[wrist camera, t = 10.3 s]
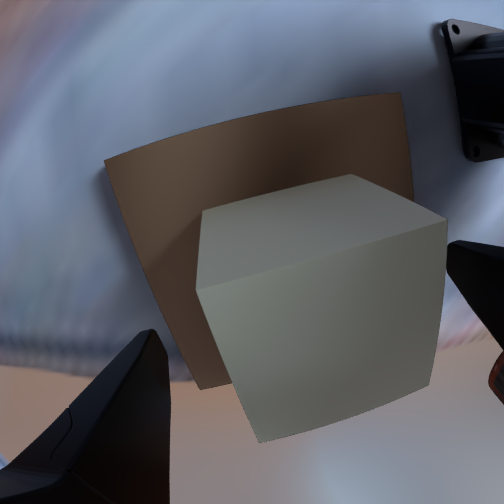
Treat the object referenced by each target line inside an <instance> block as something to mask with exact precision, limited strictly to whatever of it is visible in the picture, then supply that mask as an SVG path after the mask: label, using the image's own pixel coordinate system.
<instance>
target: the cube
mask: <svg viewBox="0 0 504 504" xmlns="http://www.w3.org/2000/svg"><path fill="white" fill-rule="evenodd" d="M447 229H448V220H447V219H445V218H444V217H442V216H440V215H438V214H436V213H434V212H432V211H430V210H428V209H426V208H424V207H422V206H420V205H418V204H416V203H414V202H412V201H410V200H408V199H406V198H404V197H402V196H400V195H398V194H396V193H393V192H391V191H389V190H387V189H385V188H383V187H380V186H378V185H376V184H374V183H372V182H369V181H367V180H365V179H362V178H360V177H358V176H356V175H353V174H348V175H344V176H339V177H335V178H330V179H326V180H321V181H317V182H313V183H308V184H304V185H300V186H296V187H292V188H288V189H283V190H279V191H275V192H271V193H267V194H263V195H259V196H256V197H252V198H248V199H244V200H240V201H236V202H233V203H229V204H225V205H221V206H218V207H214V208H210V209H207V210H203V211H202V220H201V231H200V242H199V254H198V266H197V279H196V292H197V295H198V298H199V300H200V303H201V306H202V308H203V311H204V314H205V316H206V319H207V321H208V324H209V327H210V329H211V332H212V334H213V337H214V339H215V342H216V344H217V347H218V349H219V352H220V354H221V357H222V359H223V362H224V364H225V366H226V369H227V371H228V374H229V376H230V378H231V381H232V383H233V386H234V388H235V390H236V393H237V395H238V397H239V399H240V402H241V404H242V406H243V409H244V411H245V413H246V415H247V418H248V420H249V422H250V424H251V426H252V429H253V431H254V433H255V435H256V437H257V440H258V442H259V443H262V442H267V441H271V440H275V439H279V438H283V437H287V436H291V435H295V434H298V433H302V432H306V431H309V430H313V429H316V428H319V427H323V426H326V425H329V424H332V423H335V422H338V421H341V420H344V419H347V418H350V417H353V416H356V415H359V414H361V413H364V412H367V411H369V410H372V409H375V408H377V407H380V406H382V405H385V404H387V403H390V402H392V401H395V400H397V399H399V398H402V397H404V396H406V395H408V394H411V393H412V392H415V391H417V390H419V389H422V388H424V387H426V386H428V385H429V381H430V377H431V372H432V368H433V363H434V357H435V352H436V346H437V340H438V334H439V328H440V321H441V313H442V305H443V296H444V286H445V273H446V258H447Z"/></svg>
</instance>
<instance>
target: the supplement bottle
mask: <svg viewBox="0 0 504 504" xmlns="http://www.w3.org/2000/svg"><path fill="white" fill-rule="evenodd" d="M488 383H489V387H490V388H491V390H492V391H493V392H494V394H495V395H496V396H497V397H498V398H499V400H500V401H501V402H502V403H503V404H504V351H503V352H502V353H501V354H500V356H499V357H498V359H497V360H496V362H495V364H494V366H493V368H492V370H491V373H490V375H489V381H488Z"/></svg>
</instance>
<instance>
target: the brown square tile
mask: <svg viewBox="0 0 504 504" xmlns="http://www.w3.org/2000/svg"><path fill="white" fill-rule="evenodd" d="M104 163H105V166H106V169H107V172H108V176H109V179H110V182H111V185H112V188H113V191H114V194H115V197H116V200H117V202H118V205H119V208H120V211H121V214H122V216H123V219H124V222H125V225H126V227H127V230H128V233H129V235H130V238H131V241H132V243H133V246H134V248H135V251H136V253H137V256H138V258H139V261H140V263H141V266H142V268H143V271H144V273H145V276H146V278H147V280H148V283H149V285H150V287H151V290H152V292H153V294H154V297H155V299H156V301H157V303H158V306H159V308H160V310H161V312H162V314H163V317H164V319H165V321H166V323H167V325H168V327H169V330H170V332H171V334H172V336H173V338H174V340H175V342H176V344H177V346H178V348H179V350H180V352H181V354H182V356H183V358H184V360H185V362H186V364H187V366H188V368H189V370H190V372H191V374H192V376H193V378H194V380H195V382H196V384H197V386H198V387H199V389H200V390H203V389H207V388H213V387H217V386H222V385H226V384H230V383H232V381H231V378H230V376H229V374H228V371H227V369H226V366H225V364H224V362H223V359H222V357H221V354H220V352H219V349H218V347H217V344H216V342H215V339H214V337H213V334H212V332H211V329H210V327H209V324H208V321H207V319H206V316H205V314H204V311H203V308H202V306H201V303H200V300H199V298H198V295H197V292H196V279H197V266H198V254H199V242H200V231H201V220H202V211H203V210H207V209H210V208H214V207H218V206H221V205H225V204H229V203H233V202H236V201H240V200H244V199H248V198H252V197H256V196H259V195H263V194H267V193H271V192H275V191H279V190H283V189H288V188H292V187H296V186H300V185H304V184H308V183H313V182H317V181H321V180H326V179H330V178H335V177H339V176H344V175H348V174H353V175H356V176H358V177H360V178H362V179H365V180H367V181H369V182H372V183H374V184H376V185H378V186H380V187H383V188H385V189H387V190H389V191H391V192H393V193H396V194H398V195H400V196H402V197H404V198H406V199H408V200H410V201H412V202H414V193H413V180H412V169H411V160H410V151H409V143H408V136H407V129H406V122H405V116H404V110H403V104H402V99H401V94H400V92H398V93H385V94H375V95H366V96H357V97H349V98H342V99H335V100H328V101H322V102H316V103H310V104H304V105H298V106H293V107H288V108H283V109H278V110H273V111H268V112H263V113H259V114H254V115H250V116H246V117H242V118H237V119H233V120H229V121H225V122H222V123H218V124H214V125H210V126H207V127H203V128H199V129H196V130H192V131H189V132H186V133H182V134H179V135H176V136H173V137H169V138H166V139H163V140H160V141H157V142H154V143H151V144H148V145H145V146H142V147H139V148H136V149H133V150H131V151H128V152H125V153H122V154H120V155H117V156H114V157H112V158H109V159H107V160H104Z"/></svg>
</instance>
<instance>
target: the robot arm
mask: <svg viewBox="0 0 504 504" xmlns="http://www.w3.org/2000/svg"><path fill="white" fill-rule="evenodd" d="M452 28H453V30H454V32H453V30H452ZM442 30H443V34H444V38H445V42H446V46H447V50H448V54H449V58H450V63H451V67H452V72H453V77H454V83H455V88H456V94H457V100H458V107H459V114H460V122H461V131H462V141H463V152H464V156H465V158H466V159H467V160H468V161H472V162H482V161H488V160H493V159H498V158H504V30H502V29H498V28H494V27H490V26H486V25H481V24H477V23H472V22H467V21H461V20H456V19H449V20H446V21H444V22H443V23H442ZM473 148H474V153H473ZM446 270H447V273H448V275H449V276H450V278H451V279H452V281H453V282H454V284H455V285H456V286H457V288H458V289H459V291H460V292H461V294H462V295H463V297H464V298H465V300H466V301H467V303H468V304H469V306H470V307H471V308H472V310H473V311H474V312H475V314H476V315H477V316H478V317H479V319H480V320H481V321H482V323H483V324H484V325H485V326H486V328H487V329H488V330H489V332H490V333H491V334H492V336H493V337H494V338H495V340H496V341H497V342H498V343H499V345H500V346H501V348H502V349H503V351H504V247H500V246H494V245H488V244H482V243H476V242H469V241H463V240H456V241H454V242H451V243H449V244H448V246H447V258H446ZM170 418H171V396H170V381H169V366H168V355H167V352H166V350H165V348H164V346H163V344H162V342H161V340H160V338H159V336H158V334H157V332H156V331H155V330H154V329H149V330H145V331H141V332H140V333H139V334H138V335H137V336H136V337H135V338H134V339H133V340H132V341H131V342H130V343H129V344H128V345H127V346H126V347H125V348H124V349H123V350H122V351H121V352H120V353H119V354H118V355H117V356H116V357H115V358H114V359H113V360H112V361H111V362H110V363H109V364H108V365H107V366H106V367H105V368H104V370H103V371H102V372H101V373H100V374H99V375H98V376H97V377H96V378H95V379H94V380H93V381H92V382H91V383H90V384H89V385H88V387H86V388H85V389H84V391H83V392H82V393H81V394H80V395H79V396H78V397H77V398H76V399H75V400H74V401H73V402H72V403H71V404H70V405H69V408H66V409H65V410H64V412H63V413H62V414H61V415H60V416H59V417H58V418H57V419H56V420H55V421H54V422H53V423H52V424H51V425H50V426H49V427H48V428H47V429H46V430H45V431H44V432H43V433H42V434H41V435H40V436H39V437H38V438H36V440H34V441H33V442H32V443H31V444H30V445H29V446H28V447H27V448H26V449H25V450H23V452H21V453H20V454H19V455H18V456H17V457H16V458H15V459H14V460H13V461H12V462H10V463H9V464H8V465H7V466H6V467H4V468H2V469H1V470H0V504H170V489H169V488H170V487H169V484H170V483H169V469H170V466H169V465H170V464H169V463H170Z"/></svg>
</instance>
